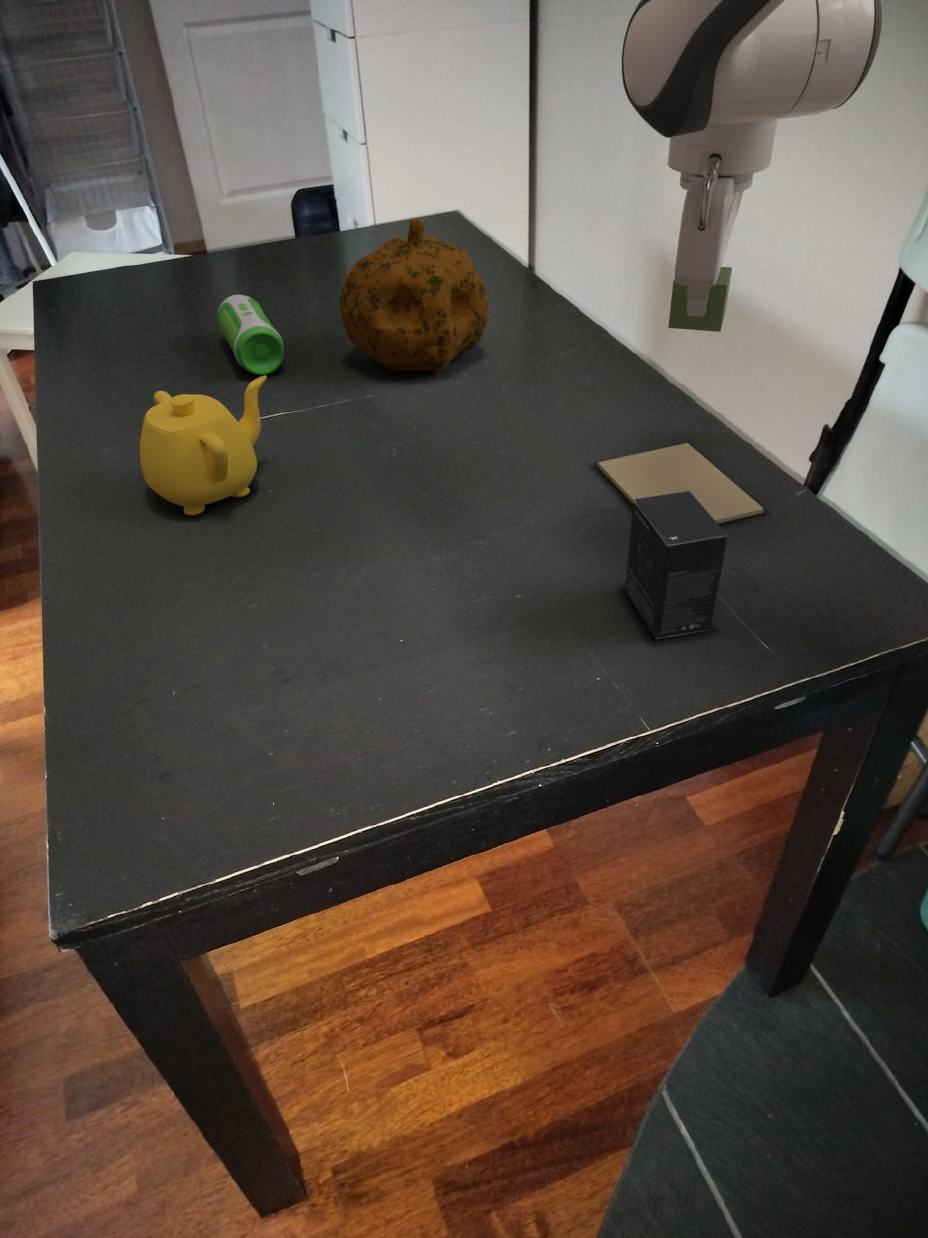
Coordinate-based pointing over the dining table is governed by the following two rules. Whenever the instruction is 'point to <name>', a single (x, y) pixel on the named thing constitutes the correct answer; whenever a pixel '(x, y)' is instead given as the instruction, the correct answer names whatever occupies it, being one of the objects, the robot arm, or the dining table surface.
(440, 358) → the decorative pumpkin
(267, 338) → the speaker
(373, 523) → the dining table surface
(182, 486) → the teapot
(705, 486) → the mat
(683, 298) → the green block
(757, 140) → the robot arm
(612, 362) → the dining table surface
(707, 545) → the box
